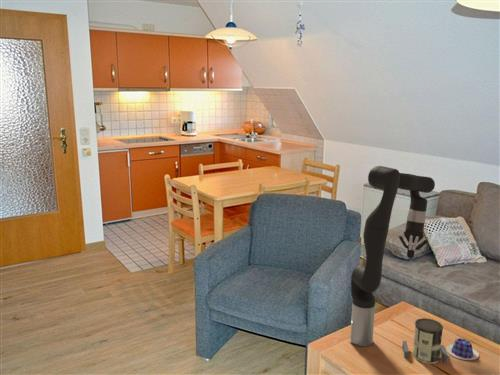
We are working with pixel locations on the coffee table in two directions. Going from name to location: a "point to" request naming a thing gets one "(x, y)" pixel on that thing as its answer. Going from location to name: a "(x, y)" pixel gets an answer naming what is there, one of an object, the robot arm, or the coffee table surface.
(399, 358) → the coffee table surface
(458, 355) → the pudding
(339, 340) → the coffee table surface
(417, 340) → the coffee can
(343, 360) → the coffee table surface
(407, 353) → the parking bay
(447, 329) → the coffee table surface
